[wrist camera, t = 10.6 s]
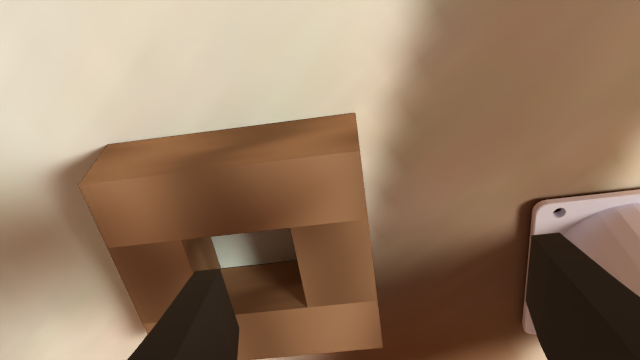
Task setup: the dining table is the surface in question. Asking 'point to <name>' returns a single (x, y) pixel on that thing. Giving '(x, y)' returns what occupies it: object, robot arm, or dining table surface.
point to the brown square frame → (247, 229)
